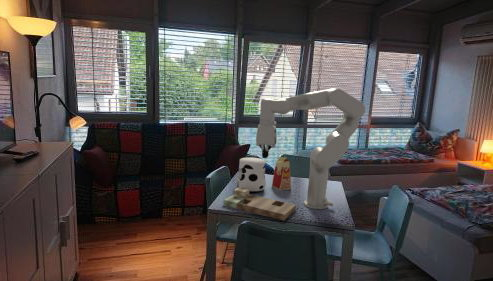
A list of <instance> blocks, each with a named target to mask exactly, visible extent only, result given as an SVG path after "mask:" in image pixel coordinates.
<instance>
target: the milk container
mask: <svg viewBox="0 0 493 281" xmlns="http://www.w3.org/2000/svg"><path fill="white" fill-rule="evenodd" d="M238 162H239V163H238V164H239V165H238V173H237V174H238V175H237V177H236V187H237V188H238V187H242V188H247V189H249V193H259V192H262V191H264V190H265V188H266V182H267V181H266V166H267V165H266V160H265V159H264V158H262V159H261V158H260V157H259V158H257V157H242V158H239V161H238Z"/></svg>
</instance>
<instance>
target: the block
mask: <svg viewBox="0 0 493 281" xmlns="http://www.w3.org/2000/svg"><path fill="white" fill-rule="evenodd" d="M233 192H234V193H233V195H234V196H235V197H240V198H246V197H247V196H249V194H250V192H249V189H247V188H242V187H237V188H235V189H234V191H233Z"/></svg>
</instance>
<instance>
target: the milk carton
mask: <svg viewBox="0 0 493 281" xmlns="http://www.w3.org/2000/svg"><path fill="white" fill-rule="evenodd" d="M291 177H292V176H291V168H290V160H288V158H287V156H284V157H281V156H278V157H277V160H276V162H275V167H274V170H273V178H272V184H271V187H272V188H273V189H276V190H278V191H285V190H291V189H292V179H291Z"/></svg>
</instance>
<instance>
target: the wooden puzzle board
mask: <svg viewBox="0 0 493 281" xmlns="http://www.w3.org/2000/svg"><path fill="white" fill-rule="evenodd" d="M223 206H224V207H229V208H233V209H237V210H241V211H244V212H249V213H252V214H256V215H259V216H264V217H269V218H272V219H276V220H281V221H286V220H287V219H288V218H289V217H290V216H291V215H292V214H293V213H294V212H295V211H296V208H297V207H296V206H297V205H296V204H294V203H289V202H285V201H281V200H276V199H272V198H269V197H268V198H267V197H263V196H259V195H255V194H250V193H249V196H247V197H246V198H240V197H235V196H234V194H232V195H230V196H228V197H227V198H225V199H223Z"/></svg>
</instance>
